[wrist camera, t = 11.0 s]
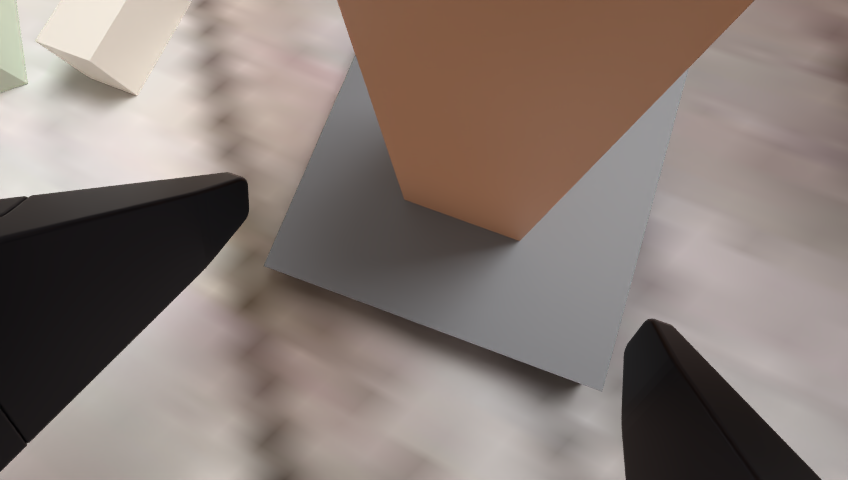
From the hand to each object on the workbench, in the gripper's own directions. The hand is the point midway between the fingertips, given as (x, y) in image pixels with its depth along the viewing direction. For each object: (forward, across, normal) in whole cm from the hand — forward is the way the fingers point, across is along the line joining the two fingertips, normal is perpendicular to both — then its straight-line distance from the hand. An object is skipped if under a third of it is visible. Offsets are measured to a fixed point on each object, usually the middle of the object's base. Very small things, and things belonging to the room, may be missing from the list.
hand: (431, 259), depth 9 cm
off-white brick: (+12, +19, +2) cm, 23 cm away
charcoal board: (+10, 0, +3) cm, 11 cm away
